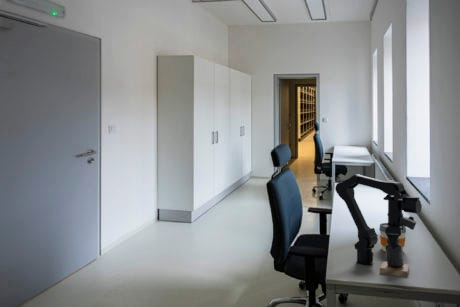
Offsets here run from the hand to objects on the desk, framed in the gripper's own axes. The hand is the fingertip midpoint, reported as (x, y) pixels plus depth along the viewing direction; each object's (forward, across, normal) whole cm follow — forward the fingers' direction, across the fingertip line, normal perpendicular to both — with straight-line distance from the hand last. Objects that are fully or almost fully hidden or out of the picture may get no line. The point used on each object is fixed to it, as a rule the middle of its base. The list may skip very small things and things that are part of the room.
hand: (394, 246), depth 179 cm
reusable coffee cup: (+11, +28, +4) cm, 30 cm away
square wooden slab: (+12, 0, 0) cm, 12 cm away
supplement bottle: (+9, 0, 0) cm, 9 cm away
